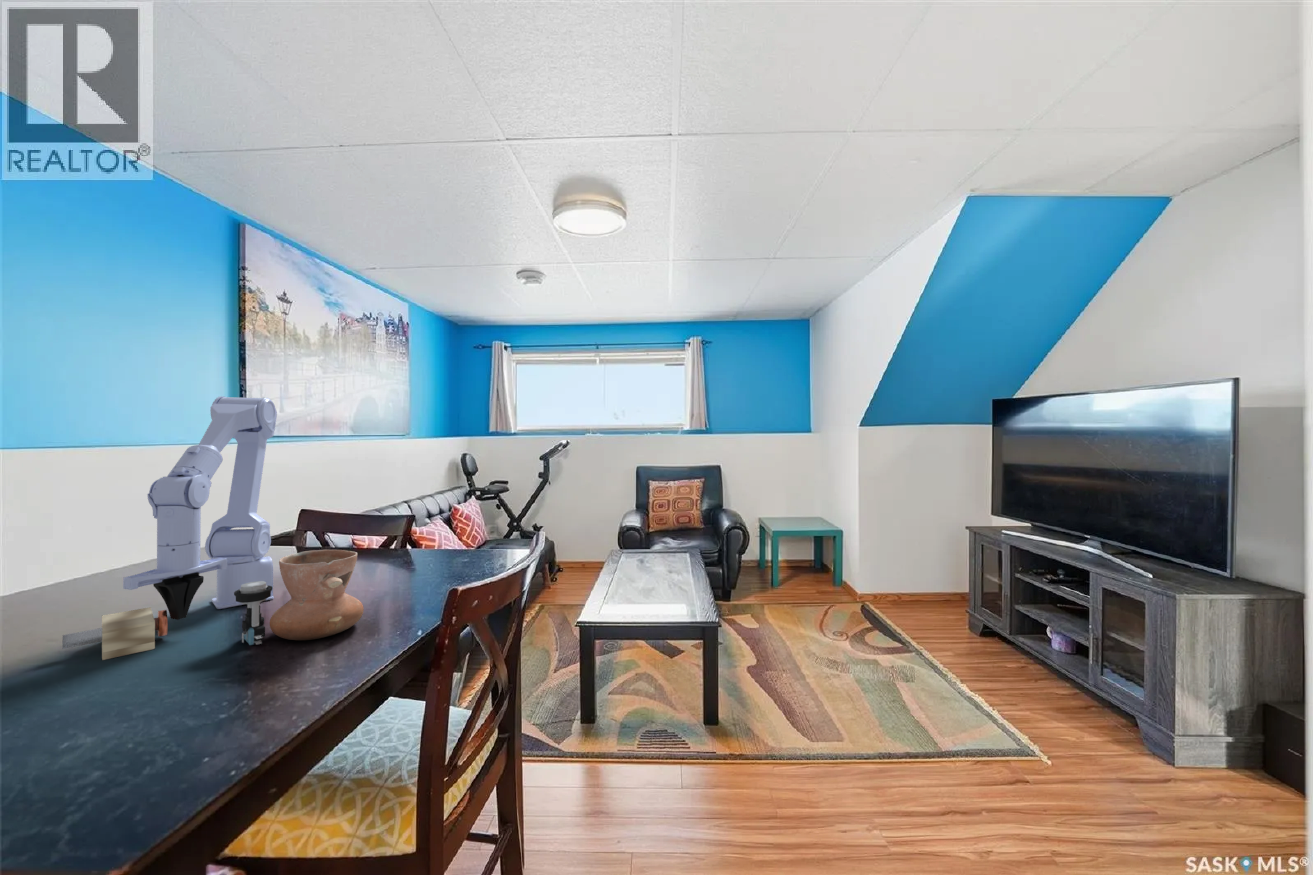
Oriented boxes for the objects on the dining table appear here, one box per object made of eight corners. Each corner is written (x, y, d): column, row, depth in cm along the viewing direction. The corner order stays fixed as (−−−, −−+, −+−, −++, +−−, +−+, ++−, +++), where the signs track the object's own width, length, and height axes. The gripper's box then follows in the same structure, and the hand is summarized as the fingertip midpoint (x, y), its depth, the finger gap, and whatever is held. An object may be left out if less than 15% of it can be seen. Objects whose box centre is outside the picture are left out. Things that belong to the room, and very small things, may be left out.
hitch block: (150, 632, 93) (150, 607, 93) (154, 648, 86) (154, 621, 86) (101, 642, 88) (101, 615, 88) (102, 660, 81) (102, 631, 81)
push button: (277, 642, 89) (278, 585, 89) (238, 652, 85) (239, 592, 85) (267, 632, 94) (268, 578, 94) (230, 640, 90) (231, 584, 89)
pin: (165, 631, 92) (165, 606, 92) (167, 638, 89) (167, 613, 89) (63, 651, 83) (63, 624, 83) (62, 660, 80) (62, 632, 80)
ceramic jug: (378, 632, 94) (380, 555, 95) (285, 657, 83) (286, 570, 83) (342, 611, 106) (343, 542, 106) (255, 630, 95) (257, 554, 95)
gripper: (209, 533, 100) (209, 602, 100) (111, 549, 86) (111, 629, 86) (235, 536, 98) (234, 607, 98) (138, 553, 84) (138, 635, 84)
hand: (178, 618), depth 92 cm, fingers closed
